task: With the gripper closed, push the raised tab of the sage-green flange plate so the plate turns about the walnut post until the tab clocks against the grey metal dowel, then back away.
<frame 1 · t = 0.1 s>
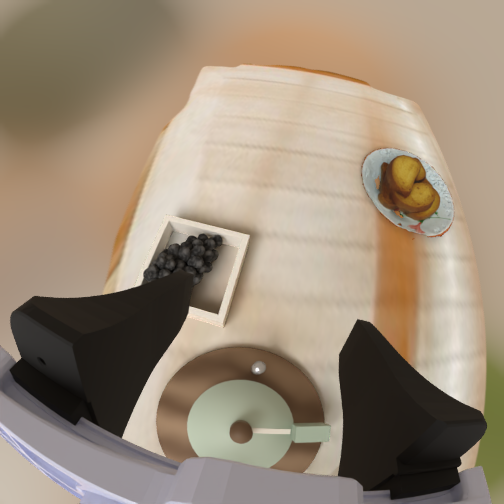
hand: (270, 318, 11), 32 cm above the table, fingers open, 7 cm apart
fruit: (190, 274, 46), on the table, touching fruit frame
flange plate: (257, 431, 32), point 4 cm above the table, hinge at 0.0°
dowel: (256, 369, 40), resting on base board
fruit frame: (193, 272, 46), on the table
food on plate: (406, 193, 58), on the table
base board: (240, 426, 36), on the table
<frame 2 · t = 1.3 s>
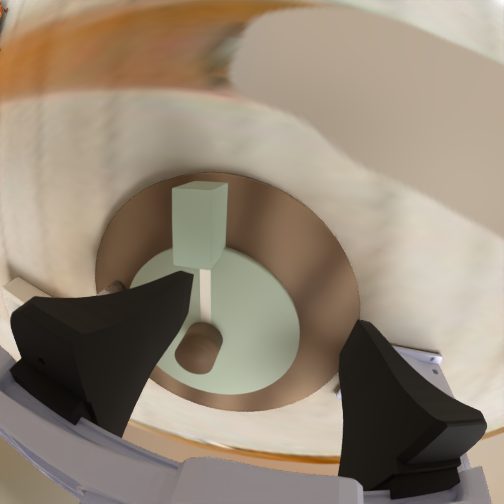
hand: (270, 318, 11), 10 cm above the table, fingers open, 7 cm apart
flange plate: (202, 317, 20), point 4 cm above the table, hinge at 0.0°
dowel: (124, 284, 25), resting on base board
fruit frame: (57, 338, 31), on the table
base board: (215, 316, 25), on the table
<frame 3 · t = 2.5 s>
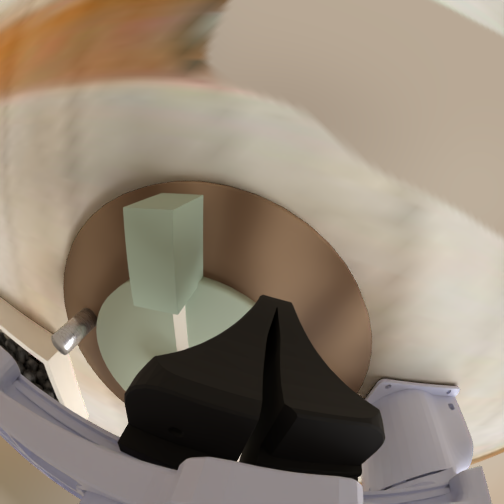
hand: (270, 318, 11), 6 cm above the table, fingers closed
fruit: (42, 362, 27), on the table, touching fruit frame
flange plate: (178, 360, 16), point 4 cm above the table, hinge at 0.0°
dowel: (96, 311, 21), resting on base board
fruit frame: (38, 359, 27), on the table
base board: (198, 352, 20), on the table
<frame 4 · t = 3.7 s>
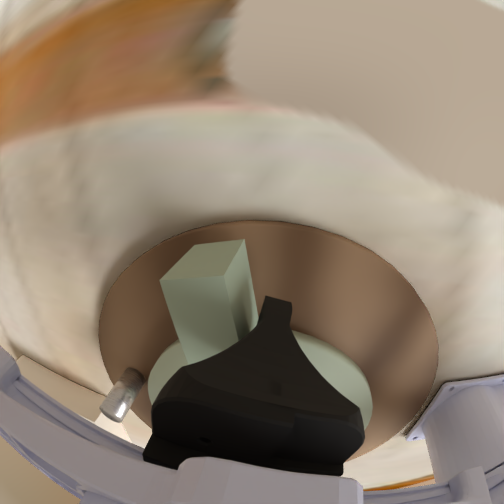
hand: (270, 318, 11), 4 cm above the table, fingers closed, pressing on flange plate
flange plate: (247, 413, 14), point 4 cm above the table, hinge at 2.9°, touching gripper
dowel: (140, 367, 19), resting on base board
fruit frame: (80, 414, 26), on the table
base board: (261, 393, 18), on the table
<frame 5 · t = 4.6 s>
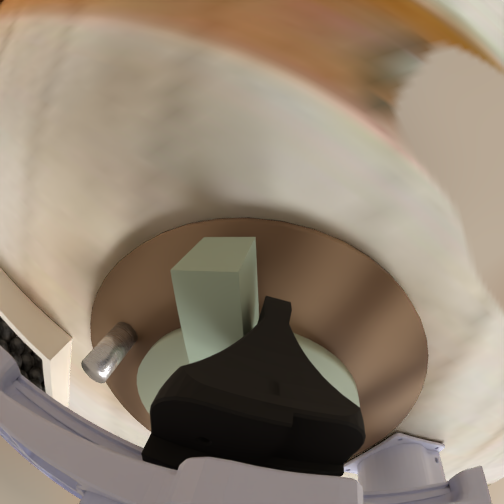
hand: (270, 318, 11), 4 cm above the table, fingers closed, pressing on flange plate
fruit: (27, 340, 23), on the table, touching fruit frame
flange plate: (237, 410, 14), point 4 cm above the table, hinge at 23.1°, touching gripper
dowel: (133, 325, 18), resting on base board
fruit frame: (23, 336, 22), on the table
base board: (249, 391, 18), on the table
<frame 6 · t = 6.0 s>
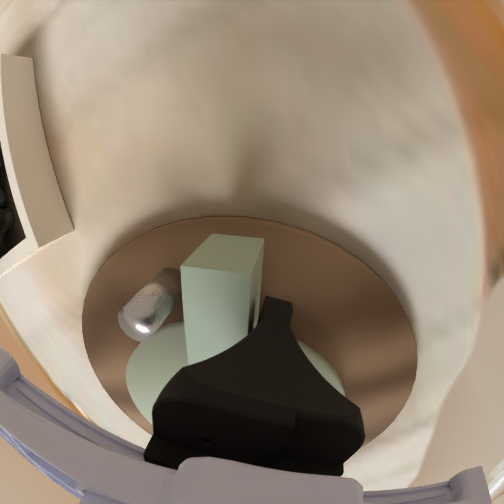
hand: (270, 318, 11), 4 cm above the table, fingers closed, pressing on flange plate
fruit: (3, 185, 16), on the table, touching fruit frame
flange plate: (226, 408, 14), point 4 cm above the table, hinge at 57.1°, touching gripper
dowel: (178, 275, 16), resting on base board
fruit frame: (2, 179, 16), on the table
base board: (237, 389, 18), on the table
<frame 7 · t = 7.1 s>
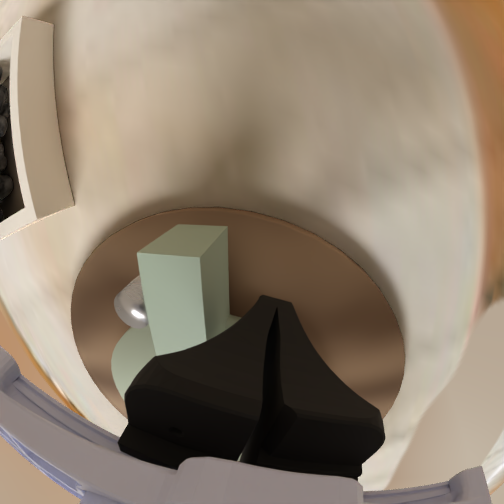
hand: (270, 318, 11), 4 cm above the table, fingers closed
fruit: (5, 151, 15), on the table, touching fruit frame
flange plate: (205, 401, 14), point 4 cm above the table, hinge at 66.8°
dowel: (177, 263, 15), resting on base board
fruit frame: (6, 145, 15), on the table
base board: (222, 383, 18), on the table
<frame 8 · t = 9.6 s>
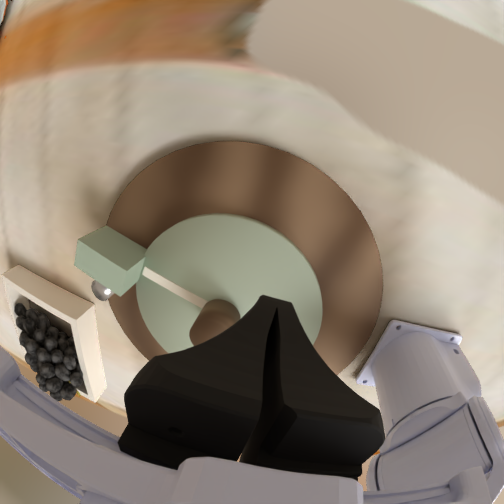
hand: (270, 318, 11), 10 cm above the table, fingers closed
fruit: (62, 332, 30), on the table, touching fruit frame
flange plate: (192, 305, 20), point 4 cm above the table, hinge at 66.8°
dowel: (132, 265, 24), resting on base board
fruit frame: (59, 329, 30), on the table
base board: (230, 296, 24), on the table
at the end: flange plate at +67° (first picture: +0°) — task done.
